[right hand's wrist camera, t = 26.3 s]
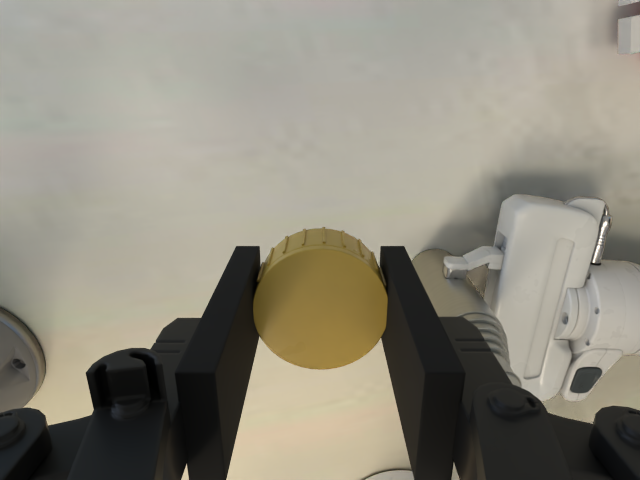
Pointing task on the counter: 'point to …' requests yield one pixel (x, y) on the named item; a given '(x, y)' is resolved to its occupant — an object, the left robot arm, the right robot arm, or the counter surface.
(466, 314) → the bottle
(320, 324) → the cap
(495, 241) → the left robot arm
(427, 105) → the counter surface
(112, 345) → the counter surface
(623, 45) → the toy
